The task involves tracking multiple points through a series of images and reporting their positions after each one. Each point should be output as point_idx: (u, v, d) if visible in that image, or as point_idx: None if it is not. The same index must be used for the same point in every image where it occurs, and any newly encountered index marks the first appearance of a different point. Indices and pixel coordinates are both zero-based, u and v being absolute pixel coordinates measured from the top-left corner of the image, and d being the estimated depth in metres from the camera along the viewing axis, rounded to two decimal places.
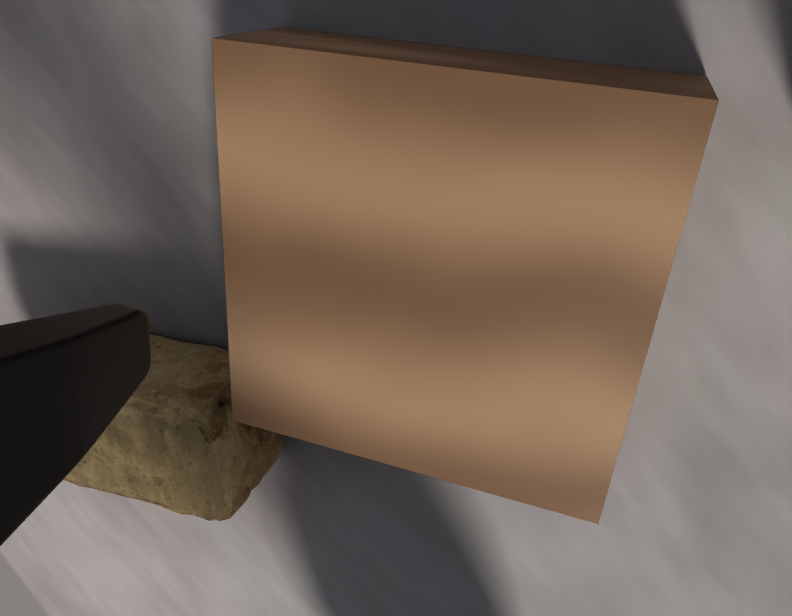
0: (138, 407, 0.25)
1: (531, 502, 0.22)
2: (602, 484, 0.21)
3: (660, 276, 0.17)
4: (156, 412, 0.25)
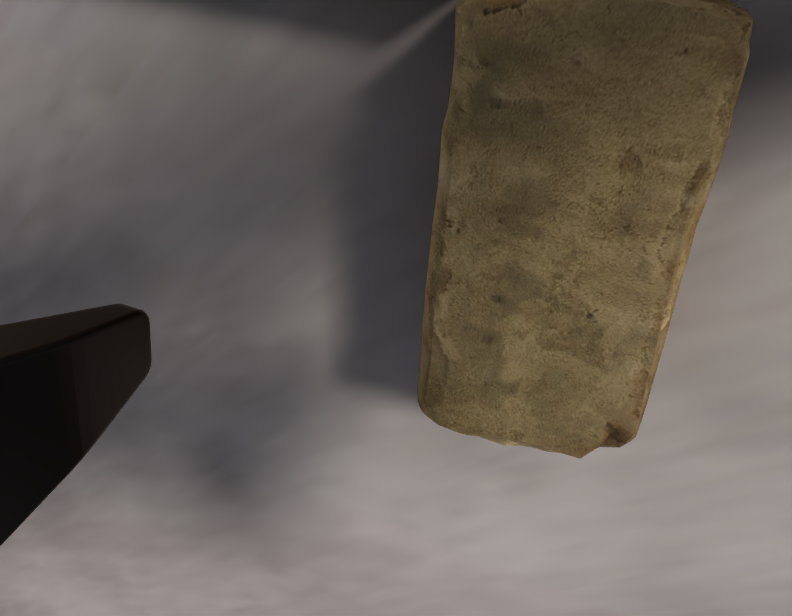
0: (452, 141, 0.14)
1: None
2: None
3: None
4: (460, 104, 0.14)
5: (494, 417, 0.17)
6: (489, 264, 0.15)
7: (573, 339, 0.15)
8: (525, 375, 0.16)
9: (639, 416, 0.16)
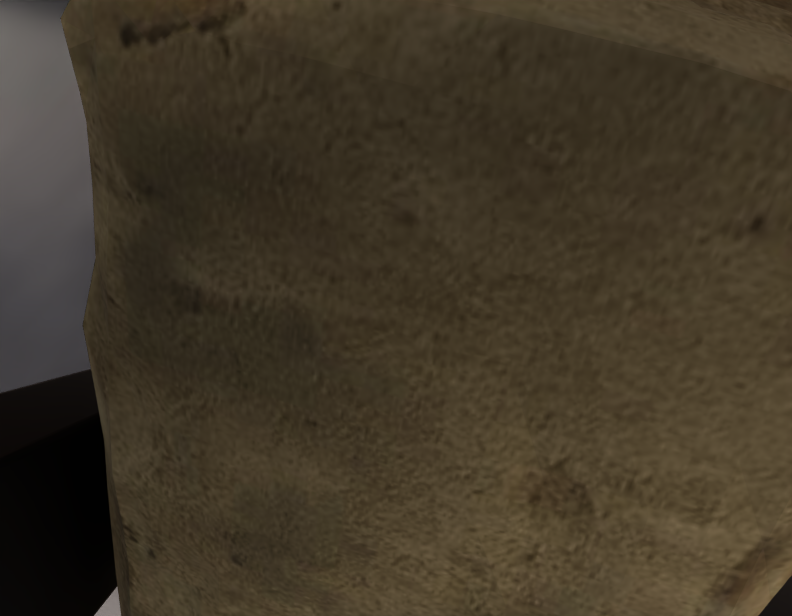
0: (104, 367, 0.05)
1: None
2: None
3: None
4: (105, 283, 0.05)
5: None
6: None
7: None
8: None
9: None
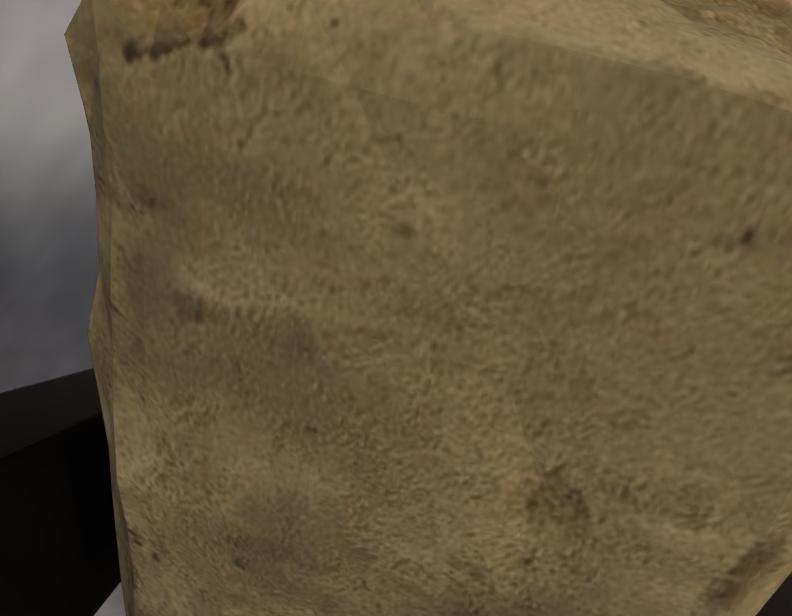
0: (109, 373, 0.05)
1: None
2: None
3: None
4: (108, 292, 0.05)
5: None
6: None
7: None
8: None
9: None
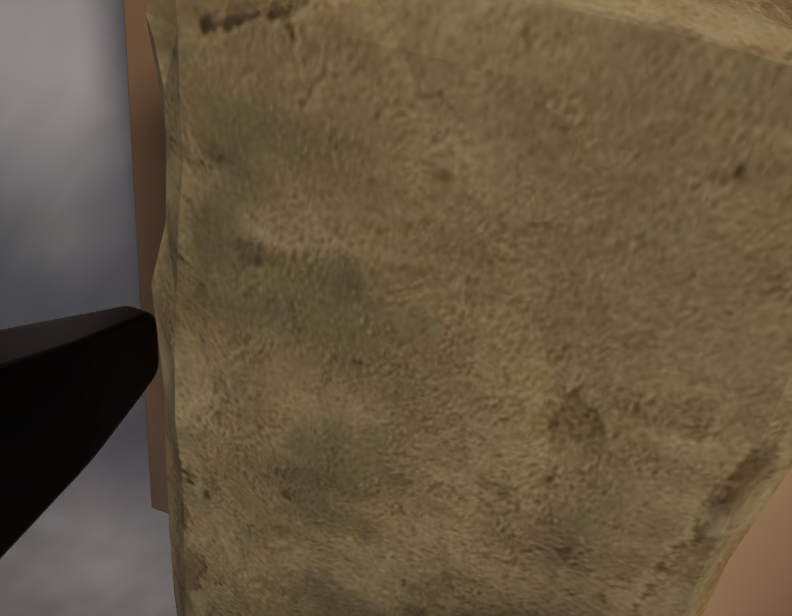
0: (171, 320, 0.06)
1: None
2: None
3: None
4: (176, 243, 0.06)
5: None
6: (272, 566, 0.07)
7: None
8: None
9: None
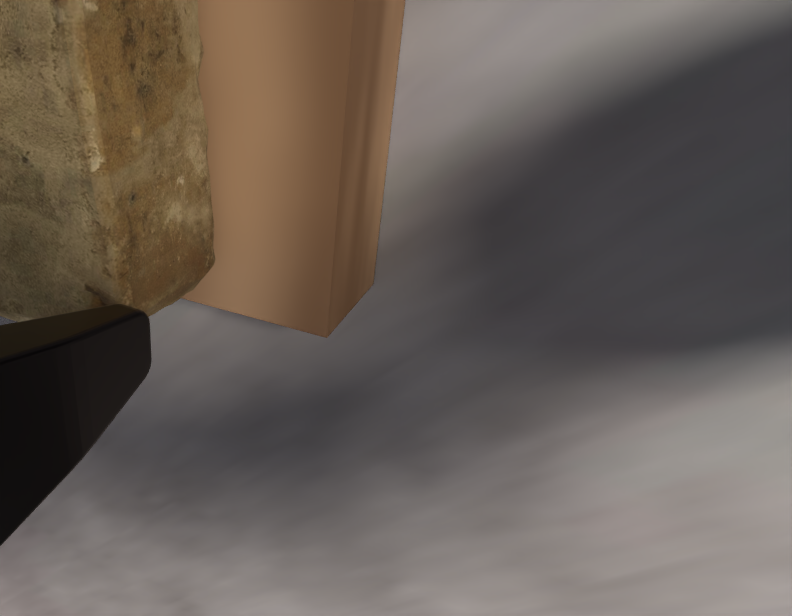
0: None
1: None
2: None
3: None
4: None
5: None
6: None
7: (22, 190, 0.14)
8: None
9: (112, 276, 0.15)
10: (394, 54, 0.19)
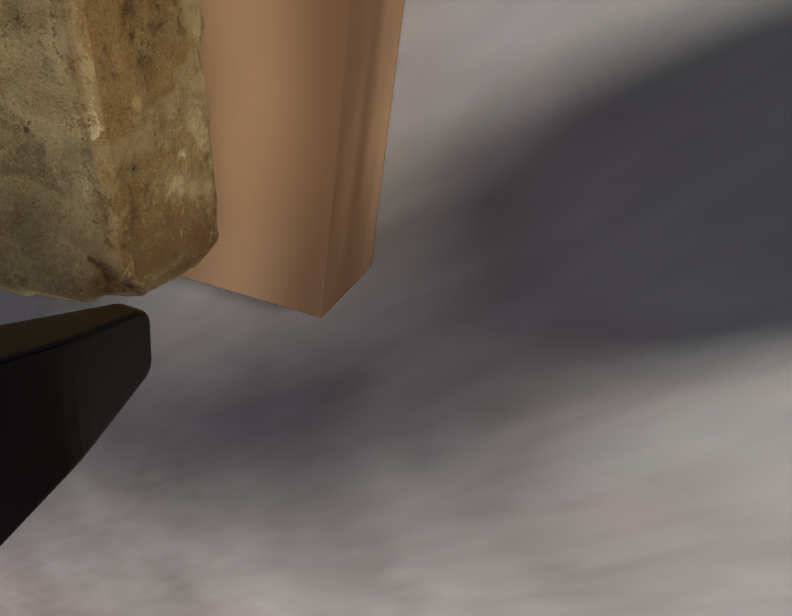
0: None
1: None
2: None
3: None
4: None
5: None
6: None
7: (23, 160, 0.15)
8: (0, 207, 0.15)
9: (114, 246, 0.15)
10: (395, 36, 0.19)
